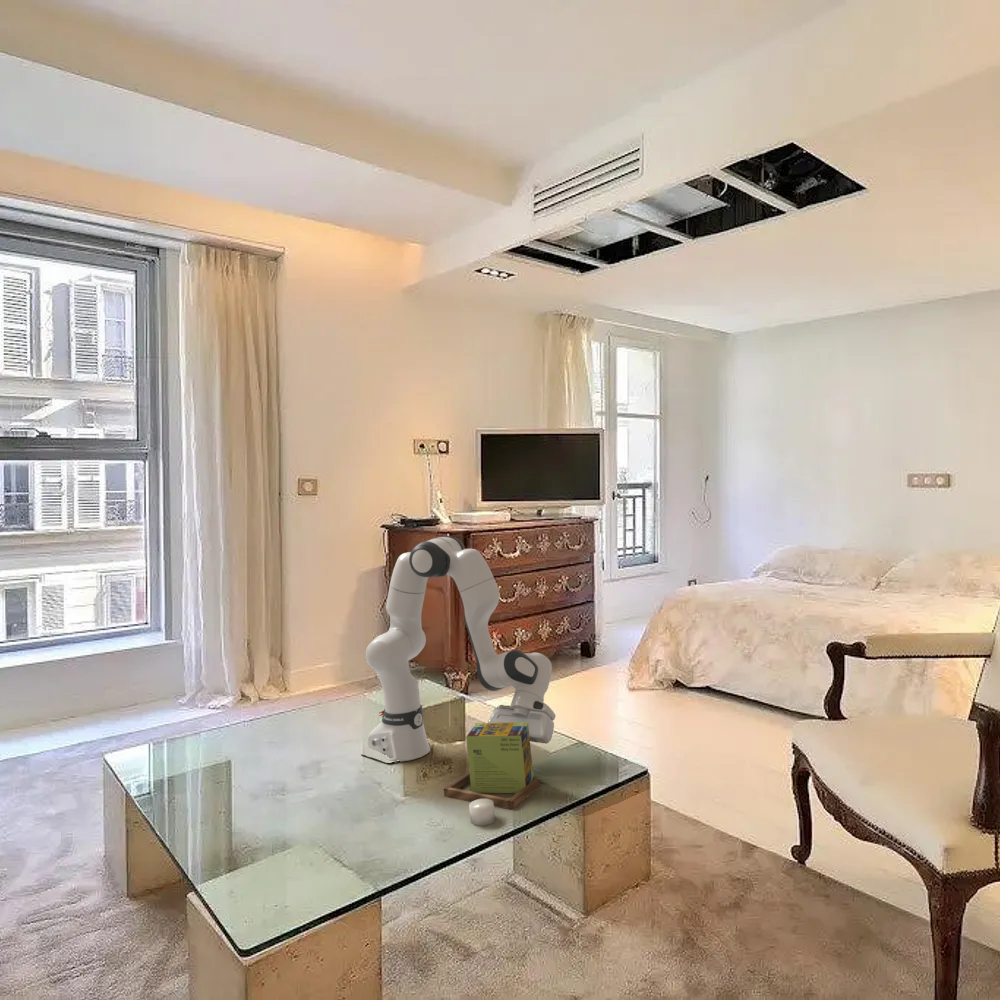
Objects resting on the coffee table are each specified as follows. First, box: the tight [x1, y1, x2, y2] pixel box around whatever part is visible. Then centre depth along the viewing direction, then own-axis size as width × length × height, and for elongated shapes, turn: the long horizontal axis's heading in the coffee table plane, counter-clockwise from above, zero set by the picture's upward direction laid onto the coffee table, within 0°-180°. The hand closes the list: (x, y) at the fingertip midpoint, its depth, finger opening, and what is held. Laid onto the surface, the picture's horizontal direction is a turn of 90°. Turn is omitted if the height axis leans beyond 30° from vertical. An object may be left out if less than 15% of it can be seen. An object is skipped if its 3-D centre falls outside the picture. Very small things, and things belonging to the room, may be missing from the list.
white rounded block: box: [468, 799, 496, 827], centre depth 180 cm, size 6×6×4 cm
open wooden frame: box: [443, 771, 541, 810], centre depth 196 cm, size 21×14×2 cm, turn 57°
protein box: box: [465, 722, 534, 794], centre depth 199 cm, size 10×15×16 cm
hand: (511, 753), depth 204 cm, fingers closed
